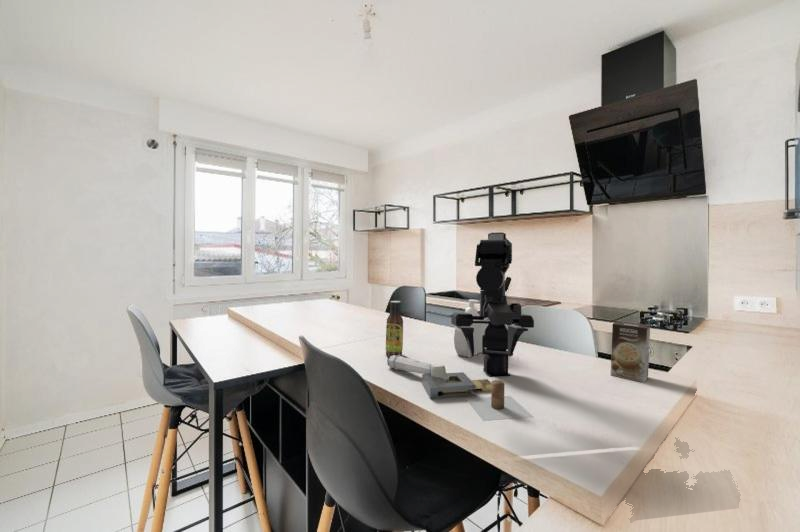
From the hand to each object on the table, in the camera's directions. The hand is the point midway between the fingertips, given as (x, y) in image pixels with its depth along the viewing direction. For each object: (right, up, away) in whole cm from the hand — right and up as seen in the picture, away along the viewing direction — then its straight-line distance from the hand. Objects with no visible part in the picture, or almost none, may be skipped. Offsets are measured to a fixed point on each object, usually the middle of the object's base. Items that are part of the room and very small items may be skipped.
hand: (491, 356), depth 86 cm
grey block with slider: (-6, -12, +11) cm, 18 cm away
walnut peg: (+2, -12, 0) cm, 12 cm away
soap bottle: (+5, -11, +48) cm, 50 cm away
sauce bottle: (-24, -11, +45) cm, 52 cm away
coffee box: (+48, -12, +23) cm, 54 cm away
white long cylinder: (-17, -12, +22) cm, 30 cm away
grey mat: (+2, -13, 0) cm, 13 cm away
